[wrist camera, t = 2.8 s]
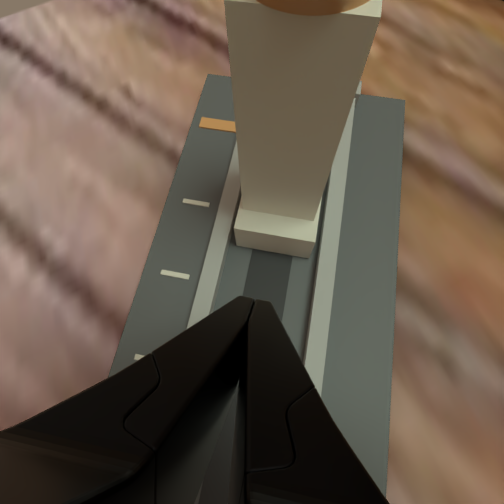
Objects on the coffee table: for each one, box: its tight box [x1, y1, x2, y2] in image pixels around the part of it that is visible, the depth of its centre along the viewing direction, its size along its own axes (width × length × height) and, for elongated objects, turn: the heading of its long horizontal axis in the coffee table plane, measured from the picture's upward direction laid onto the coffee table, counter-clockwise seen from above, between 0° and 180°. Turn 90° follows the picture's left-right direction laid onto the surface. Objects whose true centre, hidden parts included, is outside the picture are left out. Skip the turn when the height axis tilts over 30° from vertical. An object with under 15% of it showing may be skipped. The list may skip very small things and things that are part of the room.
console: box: [108, 74, 405, 504], centre depth 16 cm, size 26×12×2 cm, turn 169°
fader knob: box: [224, 0, 382, 258], centre depth 12 cm, size 5×4×12 cm
